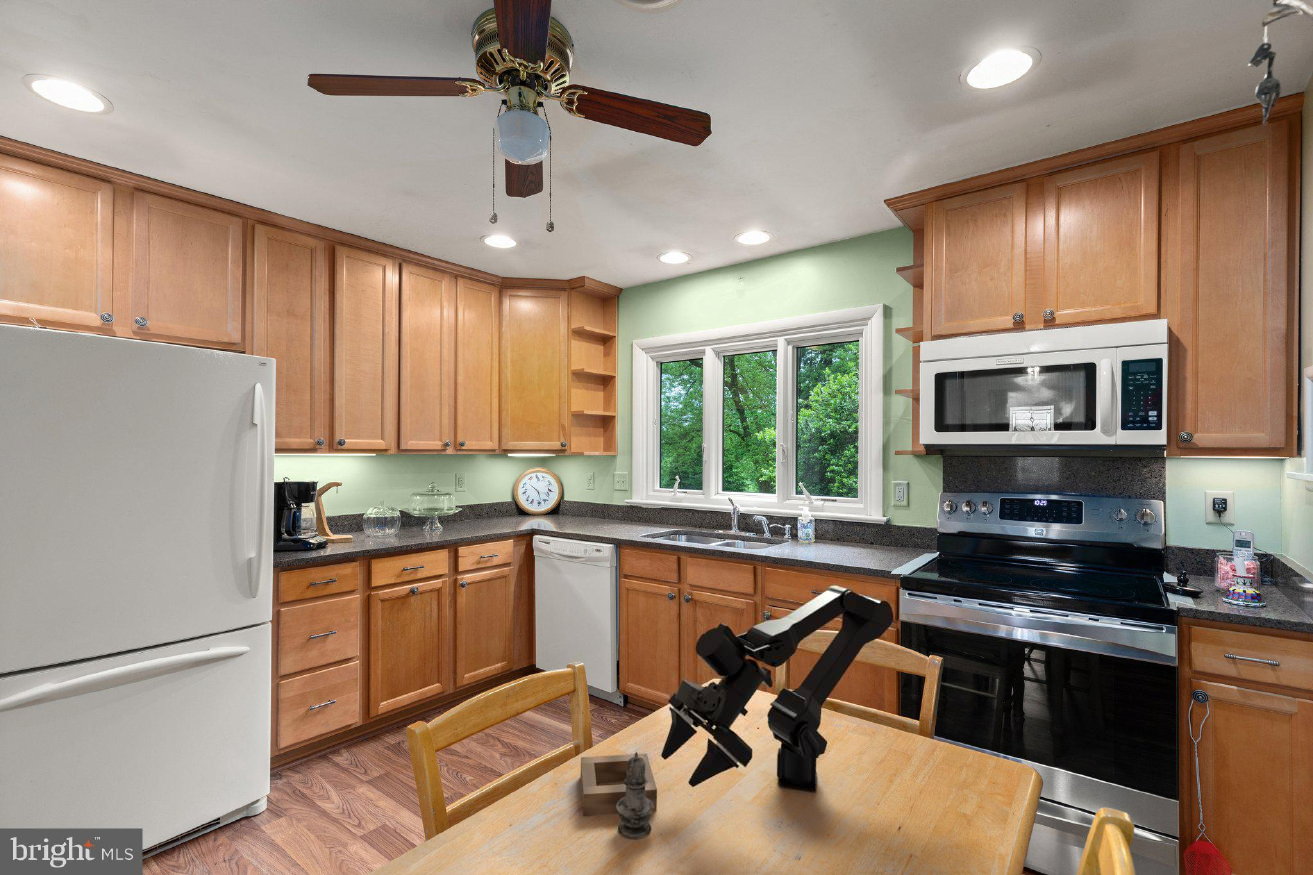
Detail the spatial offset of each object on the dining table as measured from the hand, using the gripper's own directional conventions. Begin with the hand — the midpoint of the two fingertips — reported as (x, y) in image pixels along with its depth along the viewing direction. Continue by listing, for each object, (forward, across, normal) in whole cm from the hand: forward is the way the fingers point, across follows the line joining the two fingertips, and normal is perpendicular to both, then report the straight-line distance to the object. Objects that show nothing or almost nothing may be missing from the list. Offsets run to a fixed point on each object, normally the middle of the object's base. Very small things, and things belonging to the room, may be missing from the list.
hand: (676, 770), depth 102 cm
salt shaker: (+10, 0, 0) cm, 11 cm away
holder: (+9, -10, +1) cm, 14 cm away
